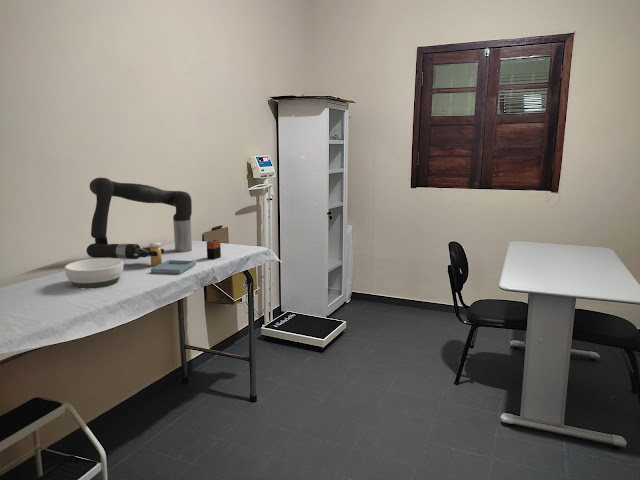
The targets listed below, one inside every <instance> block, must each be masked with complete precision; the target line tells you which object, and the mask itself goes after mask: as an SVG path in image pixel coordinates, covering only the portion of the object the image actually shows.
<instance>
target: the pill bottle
mask: <svg viewBox="0 0 640 480" xmlns="http://www.w3.org/2000/svg"><path fill="white" fill-rule="evenodd" d="M148 244H149V245H148V247H150V251H157V252H158V256H150V266H151V267H155V266H157V265H159V264H161V263H163V261H162V253H161V249H162V242H160V241H157V242H156V241H153V242H150V243H148Z"/></svg>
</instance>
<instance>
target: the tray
mask: <svg viewBox="0 0 640 480" xmlns="http://www.w3.org/2000/svg"><path fill="white" fill-rule="evenodd" d="M196 262H197V261H196V260H181V259H180V260H179V259H167V260H166V261H162V263H161V264H159V265H157V266H155V267H154V266H152V267H151V268H150V274H158V275H159V274H160V275H181V274H183V273H186V272H187V271H189V270H191V269H192V268H194V267H196V265H197V263H196Z"/></svg>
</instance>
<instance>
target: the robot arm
mask: <svg viewBox="0 0 640 480" xmlns="http://www.w3.org/2000/svg"><path fill="white" fill-rule="evenodd" d="M89 189H90V191H91V193H92V194H94V195H96V196H95V197H96V204H95V210H94V213H93V215H92V219H91V227H90V228H91V229H90V236H91V237H92V238H93V239H94V243H91V244H89V245H88V246H87V247H86V251H85V252H86V254H87V255H88V256H89V257H91V258H92V259H101V258H110V259H121V260H122V259H123V260H139V258H147V257H148V258H150V257H151V256H158V252H157V251H150V247H149V246H146V247H145V246H142V247H141V246H140V245H139V244H138V243H108V237H107V232H108V231H107V230H108V218H109V213H110V212H109V211H110V206H111V201H112V198H113V197H118V198H121V199H125V200H129V201H134V202H138V203H144V204H164V205H168V206H172V207H175V213H174V215H173V217H172V219H173V220H172V221H173V236H174V237H173V238H174V251H175V252H181V253H184V252H191V251H192V250H193V248H192V247H193V243H192V241H193V240H192V223H191V222H192V221H191V219H192V218H191V217H192V213H193V212H192V211H193V210H192V209H193V206H192V204H193V203H192V197H191V195H190V194H189V193H188V192H187V191H181V190H167V189H165V190H164V189H161V188H159V187H155V186H152V185H148V184H143V183H142V184H141V183H132V182H131V183H130V182H117V181H112V180H110V179H109V178H107V177H96V178H94V179H92V180H91V181H90V182H89ZM164 249H165V248H161V254H164V253H165V250H164Z"/></svg>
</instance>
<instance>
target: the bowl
mask: <svg viewBox="0 0 640 480" xmlns="http://www.w3.org/2000/svg"><path fill="white" fill-rule="evenodd" d="M123 270H124V261H123V260H122V259H120V258H110V257H105V258H90V259H84V260H77V261H73V262H70V263H67V264H66V265H65V266H64V272H65V275H66V277H67V279H68V281H69V282H70V283H71V284H72V286H73V287H74V288H76V287H77V289H81V288H85V289H84V290H90V289H91V288H93V289H101V287H102V288H105V287H106V288H107V287H111V286H113V285H115V284H117V283H118V282H119V280H120V278H121V276H122V273H123ZM89 288H90V289H89ZM91 290H92V289H91Z"/></svg>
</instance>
